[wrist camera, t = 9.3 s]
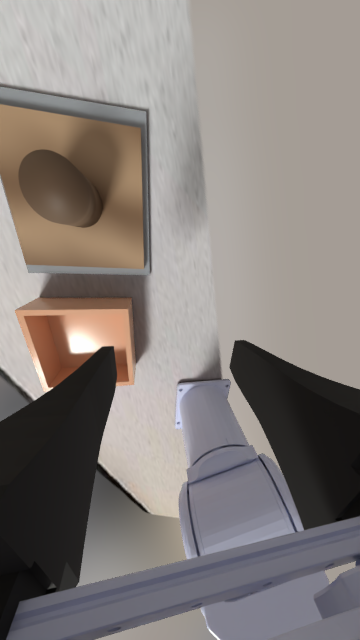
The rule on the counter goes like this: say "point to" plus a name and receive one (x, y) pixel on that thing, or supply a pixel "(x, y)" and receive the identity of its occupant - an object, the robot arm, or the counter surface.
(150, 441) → the counter surface
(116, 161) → the walnut lid
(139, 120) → the rubber mat
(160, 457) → the counter surface
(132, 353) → the terracotta open box
